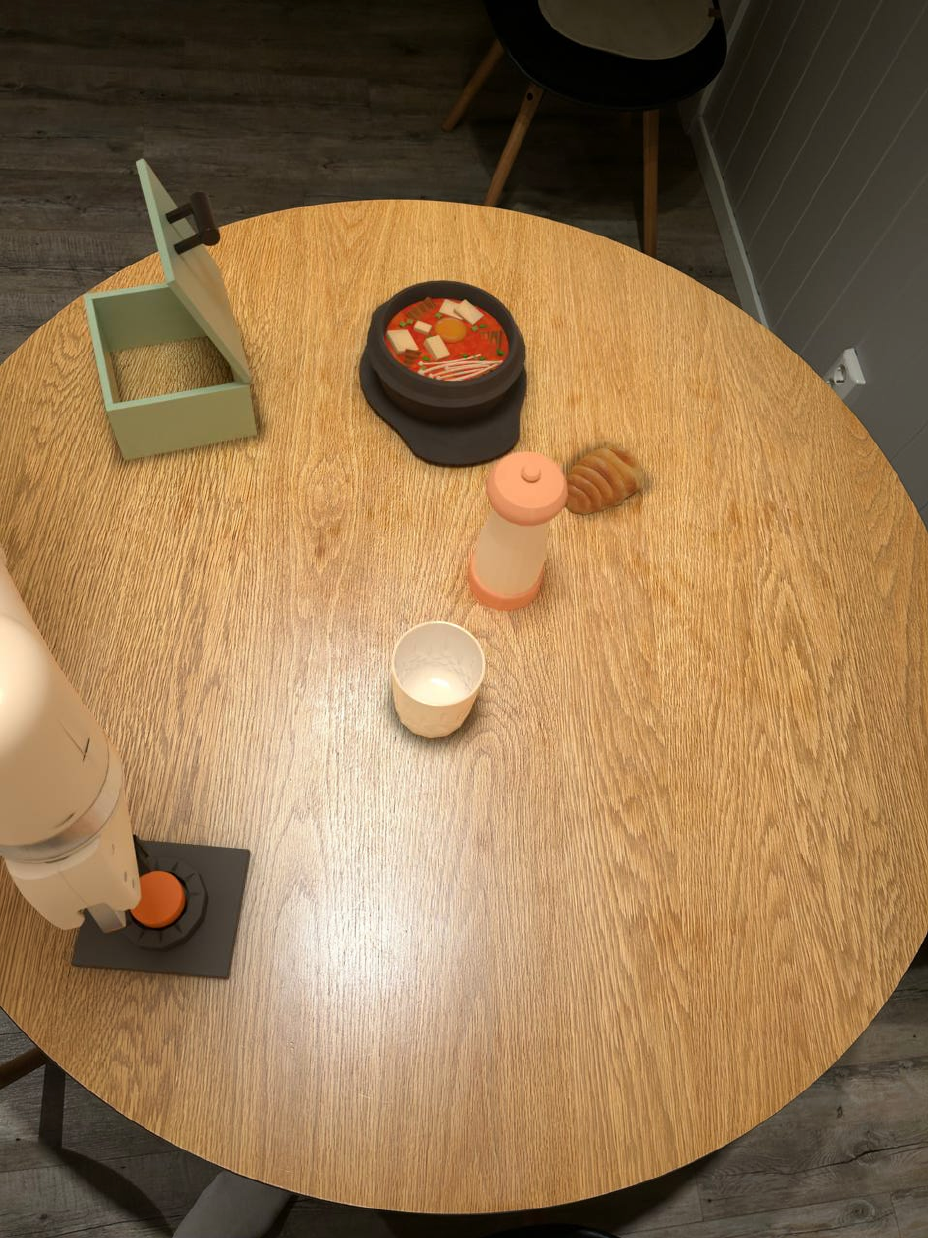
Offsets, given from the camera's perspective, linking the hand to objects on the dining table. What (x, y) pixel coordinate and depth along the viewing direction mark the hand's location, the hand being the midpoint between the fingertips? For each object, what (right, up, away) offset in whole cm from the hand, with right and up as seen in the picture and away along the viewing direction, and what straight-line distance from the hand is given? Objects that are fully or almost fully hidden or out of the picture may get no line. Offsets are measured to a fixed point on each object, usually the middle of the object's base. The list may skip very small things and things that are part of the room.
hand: (126, 868), depth 62 cm
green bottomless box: (-8, +40, +39) cm, 57 cm away
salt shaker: (+26, +20, +32) cm, 46 cm away
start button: (-1, -6, +11) cm, 12 cm away
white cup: (+20, +8, +25) cm, 33 cm away
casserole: (+20, +43, +43) cm, 64 cm away
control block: (-2, -7, +14) cm, 16 cm away
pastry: (+37, +30, +38) cm, 61 cm away
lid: (-3, +49, +25) cm, 55 cm away
